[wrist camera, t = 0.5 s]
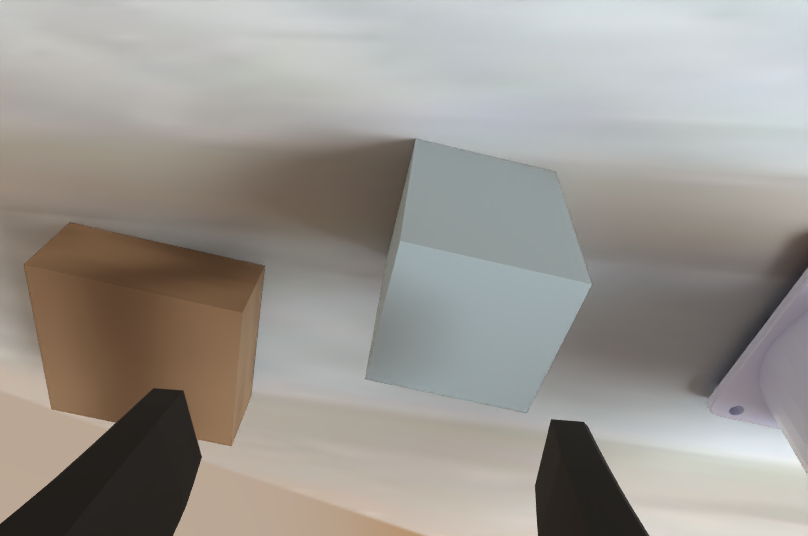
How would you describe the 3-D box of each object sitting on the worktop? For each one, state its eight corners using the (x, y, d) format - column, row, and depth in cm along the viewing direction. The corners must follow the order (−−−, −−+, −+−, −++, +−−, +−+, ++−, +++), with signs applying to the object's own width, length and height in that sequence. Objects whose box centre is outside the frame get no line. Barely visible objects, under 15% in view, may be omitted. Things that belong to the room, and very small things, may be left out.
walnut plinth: (267, 261, 21) (242, 312, 19) (253, 389, 25) (231, 446, 23) (74, 217, 21) (24, 264, 18) (91, 355, 25) (51, 409, 22)
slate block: (556, 171, 18) (592, 284, 13) (510, 283, 21) (526, 413, 16) (415, 138, 18) (400, 241, 13) (387, 256, 20) (365, 379, 16)
